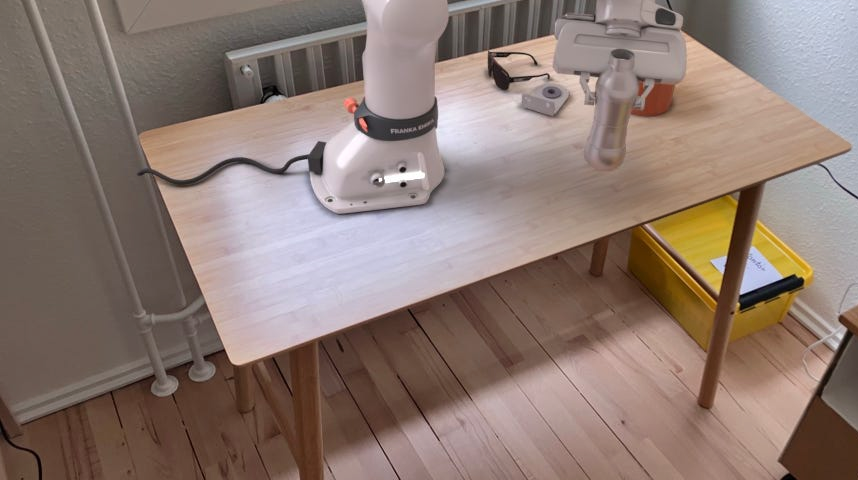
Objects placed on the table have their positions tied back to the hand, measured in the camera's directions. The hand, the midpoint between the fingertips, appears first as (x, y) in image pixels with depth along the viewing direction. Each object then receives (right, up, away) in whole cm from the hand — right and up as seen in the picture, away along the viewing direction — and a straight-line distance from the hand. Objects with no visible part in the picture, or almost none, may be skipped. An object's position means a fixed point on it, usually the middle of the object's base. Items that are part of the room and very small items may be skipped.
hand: (614, 106), depth 128 cm
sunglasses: (-13, +13, +38) cm, 42 cm away
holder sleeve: (+11, +8, +34) cm, 36 cm away
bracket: (-8, +7, +32) cm, 34 cm away
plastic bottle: (-1, -8, +8) cm, 12 cm away
